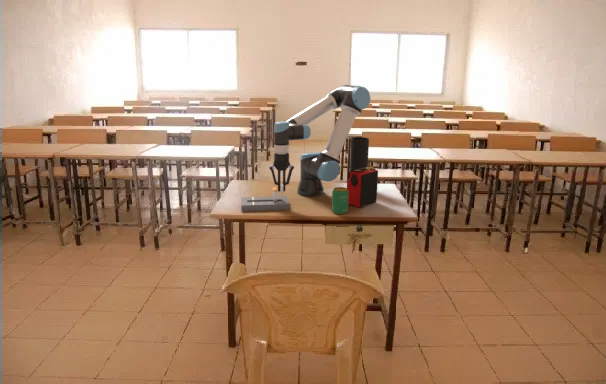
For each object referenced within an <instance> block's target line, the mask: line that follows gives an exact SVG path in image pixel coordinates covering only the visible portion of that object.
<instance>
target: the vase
mask: <svg viewBox="0 0 606 384" xmlns="http://www.w3.org/2000/svg"><path fill="white" fill-rule="evenodd" d="M369 145H370V138H368V137H361V136H357V137H355V136H354V137H351V138H350V154H349V155H350V156H349V157H350V158H349V163H350V164H349V172H350V171H353V169H359V168H365V167H368V165H369V148H370V146H369Z"/></svg>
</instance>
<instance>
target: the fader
mask: <svg viewBox="0 0 606 384" xmlns="http://www.w3.org/2000/svg"><path fill="white" fill-rule="evenodd" d="M277 196H278V186H275V187H272V197H273V201H277Z"/></svg>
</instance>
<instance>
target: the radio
mask: <svg viewBox="0 0 606 384" xmlns="http://www.w3.org/2000/svg"><path fill="white" fill-rule="evenodd" d="M347 178H348V179H347V181H346V188H347V190H348V192H349V194H348V205H352V206H355V207H356V208H359V209H360V208H363V207H366V206H368V205H372V204H374V203H377V197H378V181H379V169H376V168H374V166H369V167H365V168H359V169H353V171H350V170H349V171H348V174H347Z"/></svg>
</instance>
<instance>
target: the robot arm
mask: <svg viewBox="0 0 606 384" xmlns="http://www.w3.org/2000/svg"><path fill="white" fill-rule="evenodd" d="M370 103H371V95H370V92H369V90H368V89H367V88H366V86H362V85H349V84H344V85H341V86H339V87H337V88H334V89H333V90H331V91H329V92H328V93H327V94H325V96H324V97H323V98H322V99H320V100H318V101H316V102H315V103H313V104H311V105H310V106H308V107H306V108H305V109H304V110H302V111H300V112H298V113H297V114H295V115H294V116H292V117H290V118H288V119H287V120H281V121H275V123H274V126H273V152H274V153H273V163H272V164H271V165H269V166H268V168H269V170H270V172H271V174H272V179H273V183H274V185H275V186H277V193H279V196H280V198H283V196H284V192H286V186H287V185H290V181H291V177H292V173H293V171H294V169H295V166H294V165H292V164H291V163H290V153H289V152H290V141H294V140H295V141H296V140H307V139H309V138H310V136H311V134H312V133H311V127H310V125H309V124H310V123H312V122H313V121H315V120H316V119H319V118H320V117H321V116H323V115H325V114H326V113H328V112H330V111H331V110H333V111H334V110H336V109H338V108H340V109H341V111H340V112H339V115H338V117H337V119H336V122H335V124H334V126H333V129H332V131H331V133H330V136H329V138H328V141H327V143H326V145H325V147H324V150H322V151H320V152H305V153H301V155H300V159H299V162H300V180H299V183H298V186H297V189H296V190H297V191H296V192H297V194H298V195H301V196H305V197H306V196H307V197H316V196H317V197H318V196H321V195H323V194H324V192H325V191H324V190H325V189H324V186H323V183H322V181H323V182H326V183H327V182H332V181H334V180H336V179H337V178H338V176H339V175H340V172H341V169H340V167H341V166H340V161H341V159H340V155H341V152H342V150H343V148H344V146H345V143H346V140H347V138H348V136H349V133H350V131H351V130H352V127H353V125H354V122H355V120H356V118H357V116H360V115H361V112H362V111H363V110H364V109H366V108H368V107H369V105H370ZM288 168H289V170H288ZM275 169H276V170H277V178H276V175H275ZM287 170H288V173H287V178H286V172H287ZM281 173H282V184H281Z"/></svg>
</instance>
